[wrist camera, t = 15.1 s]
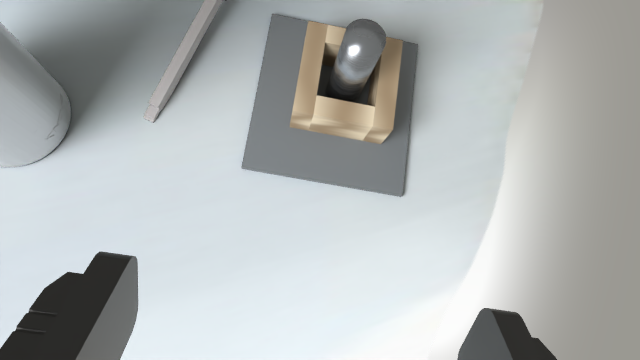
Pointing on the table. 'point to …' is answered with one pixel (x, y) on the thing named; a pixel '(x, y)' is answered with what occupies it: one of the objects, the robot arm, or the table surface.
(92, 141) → the table surface
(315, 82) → the wooden square frame
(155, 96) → the caliper
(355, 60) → the ball
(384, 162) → the mat
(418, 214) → the table surface
